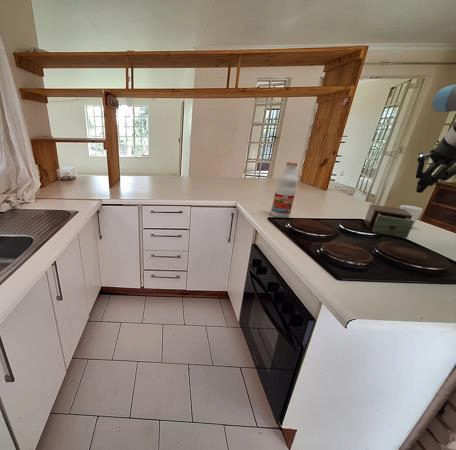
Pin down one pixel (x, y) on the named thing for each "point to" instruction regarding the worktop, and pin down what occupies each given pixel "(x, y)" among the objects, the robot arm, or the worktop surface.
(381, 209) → the cabinet
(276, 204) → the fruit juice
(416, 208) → the white cup
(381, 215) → the drawer
